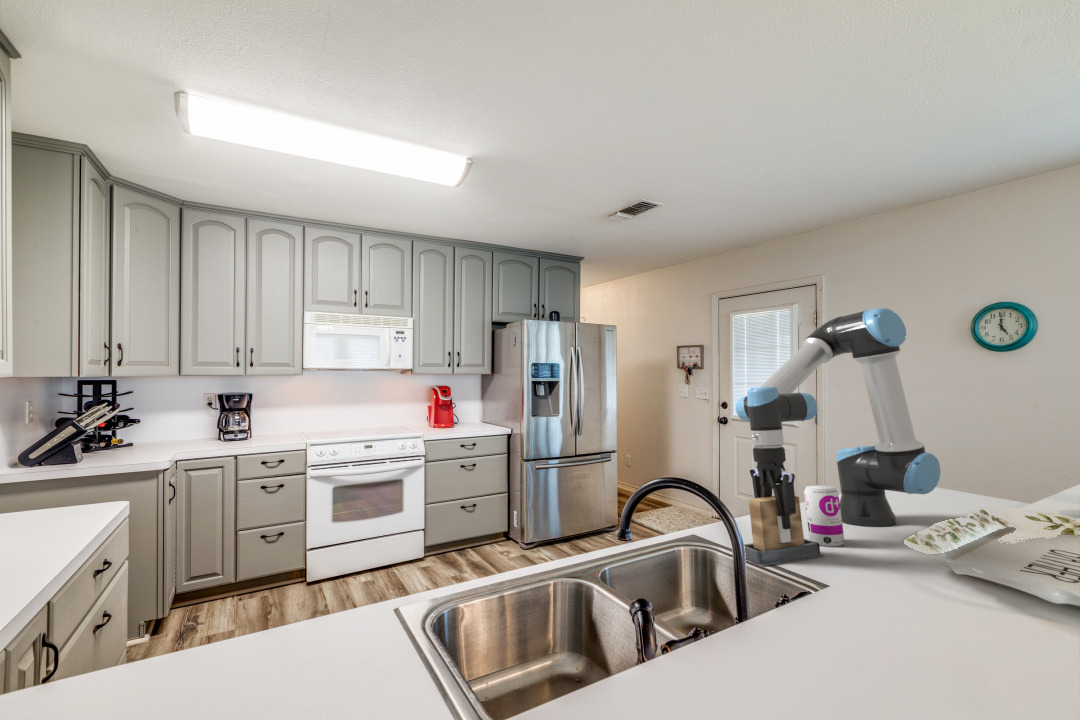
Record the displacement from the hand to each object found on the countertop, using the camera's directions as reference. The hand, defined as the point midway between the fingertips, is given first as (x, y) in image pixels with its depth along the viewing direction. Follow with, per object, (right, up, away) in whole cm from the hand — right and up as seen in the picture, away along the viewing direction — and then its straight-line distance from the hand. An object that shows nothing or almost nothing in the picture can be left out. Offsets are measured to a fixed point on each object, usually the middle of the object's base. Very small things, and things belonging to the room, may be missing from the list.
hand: (778, 539), depth 120 cm
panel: (0, -2, 0) cm, 2 cm away
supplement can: (+17, -4, +8) cm, 20 cm away
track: (0, -4, 0) cm, 4 cm away
